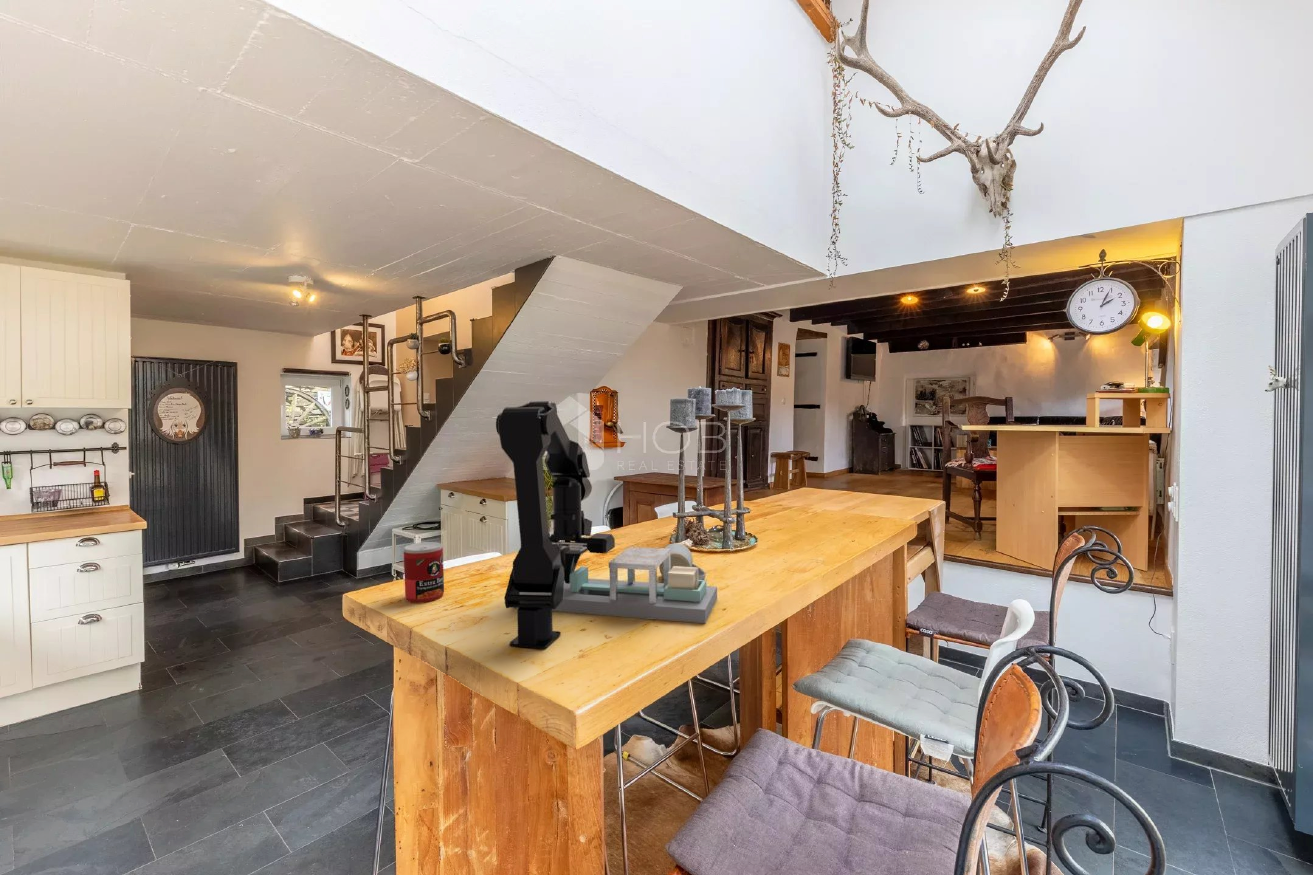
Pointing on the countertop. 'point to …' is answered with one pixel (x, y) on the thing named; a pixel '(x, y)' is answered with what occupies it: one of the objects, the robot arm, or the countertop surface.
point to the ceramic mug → (681, 559)
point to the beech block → (683, 578)
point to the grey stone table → (640, 568)
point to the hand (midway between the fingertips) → (568, 582)
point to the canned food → (423, 571)
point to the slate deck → (634, 603)
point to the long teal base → (636, 588)
